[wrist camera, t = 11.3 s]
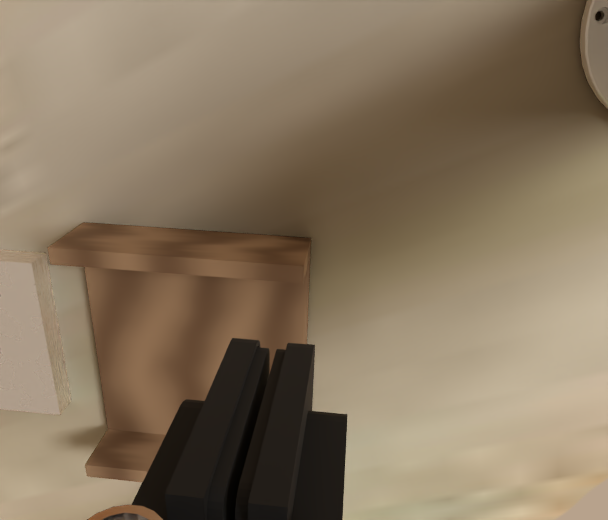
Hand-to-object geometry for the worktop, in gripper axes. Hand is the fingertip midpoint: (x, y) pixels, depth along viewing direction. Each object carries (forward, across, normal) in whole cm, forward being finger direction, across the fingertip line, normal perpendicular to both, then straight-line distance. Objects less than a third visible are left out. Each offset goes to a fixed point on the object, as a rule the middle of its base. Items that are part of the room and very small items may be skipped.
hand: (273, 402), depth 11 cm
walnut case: (+27, +10, +17) cm, 34 cm away
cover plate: (+28, +27, +17) cm, 42 cm away
